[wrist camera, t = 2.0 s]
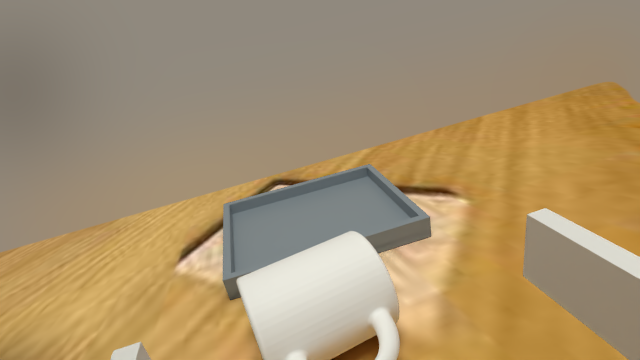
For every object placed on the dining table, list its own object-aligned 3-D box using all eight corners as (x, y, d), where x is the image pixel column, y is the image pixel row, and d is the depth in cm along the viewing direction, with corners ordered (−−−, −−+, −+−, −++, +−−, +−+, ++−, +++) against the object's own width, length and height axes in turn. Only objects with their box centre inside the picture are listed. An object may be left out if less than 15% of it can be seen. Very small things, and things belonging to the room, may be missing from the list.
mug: (255, 332, 30) (228, 259, 27) (354, 285, 33) (341, 214, 30) (304, 477, 20) (272, 389, 17) (442, 390, 23) (437, 301, 20)
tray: (230, 300, 34) (222, 280, 33) (228, 219, 49) (223, 204, 48) (430, 236, 38) (429, 216, 37) (371, 178, 53) (369, 164, 52)
